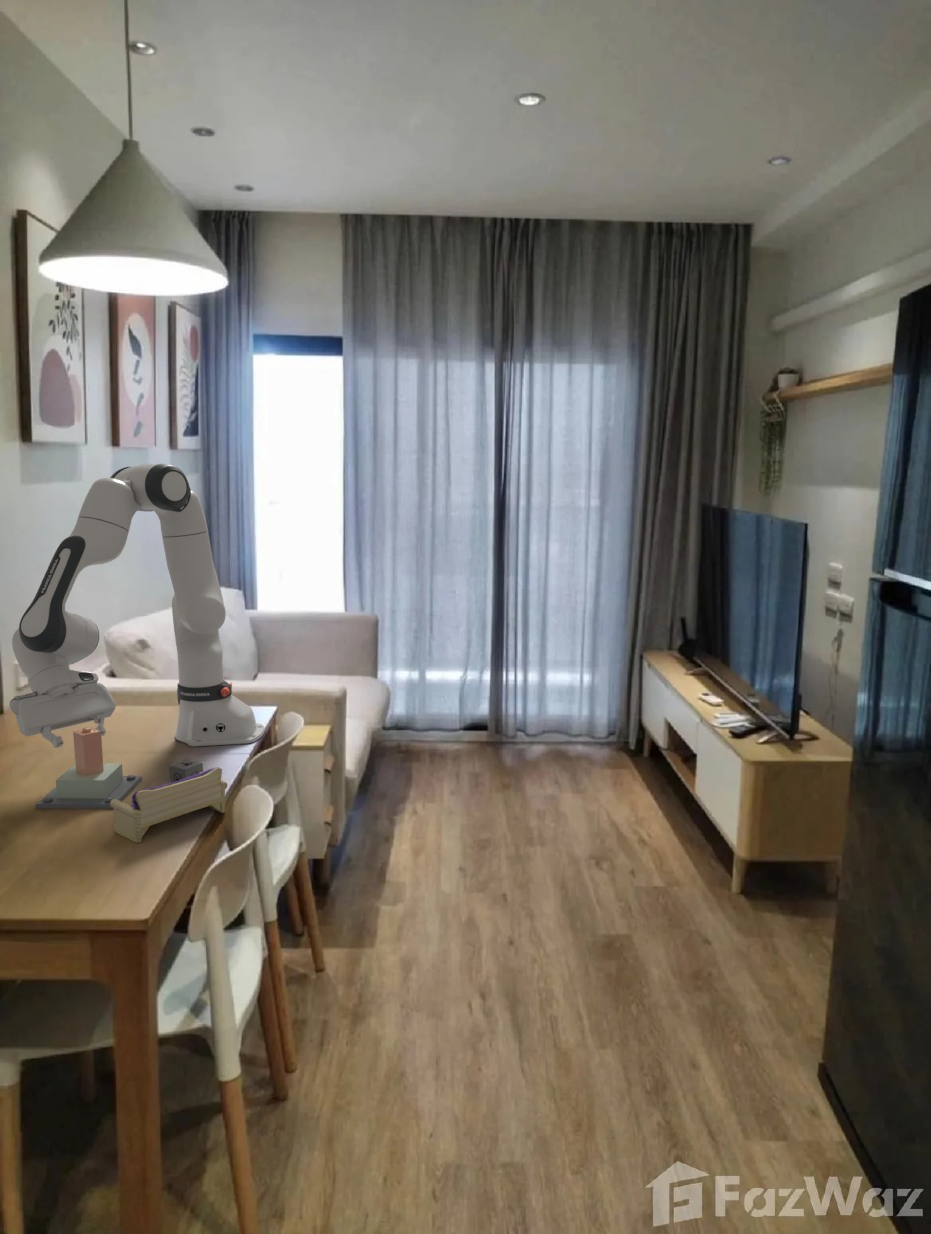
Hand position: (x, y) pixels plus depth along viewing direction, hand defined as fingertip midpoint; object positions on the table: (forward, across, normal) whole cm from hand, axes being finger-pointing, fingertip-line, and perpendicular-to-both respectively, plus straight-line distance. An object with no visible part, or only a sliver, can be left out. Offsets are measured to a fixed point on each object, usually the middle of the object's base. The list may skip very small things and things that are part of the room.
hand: (80, 740), depth 184 cm
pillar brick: (+7, 0, +2) cm, 7 cm away
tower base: (+10, 0, +6) cm, 12 cm away
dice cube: (+18, +16, -2) cm, 24 cm away
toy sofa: (+29, +3, -12) cm, 31 cm away
